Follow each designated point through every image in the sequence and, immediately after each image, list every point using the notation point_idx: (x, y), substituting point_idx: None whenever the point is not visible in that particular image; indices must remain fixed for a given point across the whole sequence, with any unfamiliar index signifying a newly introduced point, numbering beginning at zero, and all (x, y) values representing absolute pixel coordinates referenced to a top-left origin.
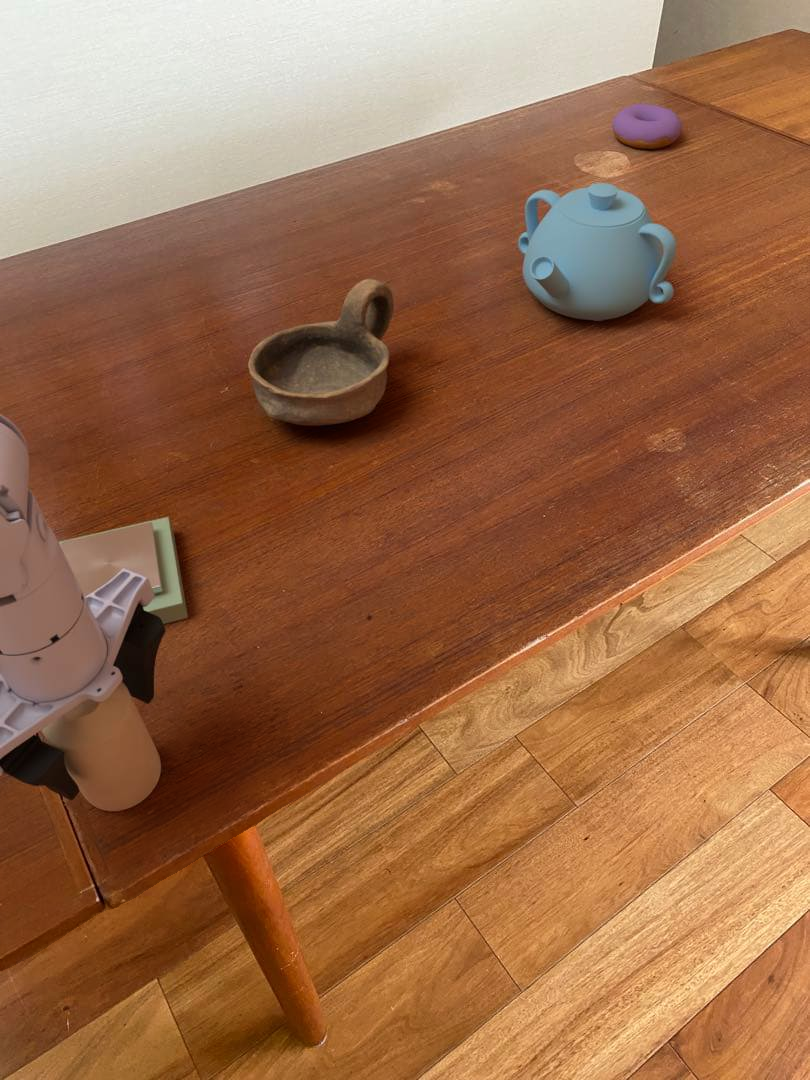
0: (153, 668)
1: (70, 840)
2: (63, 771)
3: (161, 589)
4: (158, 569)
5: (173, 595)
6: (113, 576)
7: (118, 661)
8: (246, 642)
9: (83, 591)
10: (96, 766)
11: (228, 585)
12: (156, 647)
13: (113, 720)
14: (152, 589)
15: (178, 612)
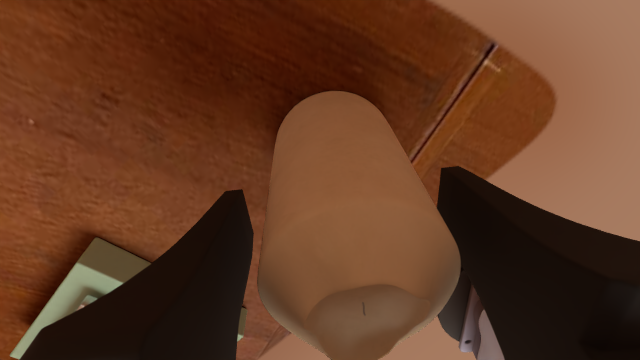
0: (181, 241)
1: (440, 136)
2: (522, 222)
3: (86, 298)
4: None
5: (80, 278)
6: None
7: (226, 309)
8: (44, 143)
9: None
10: (414, 175)
11: (9, 229)
12: (121, 294)
13: (360, 225)
14: None
15: (97, 253)
